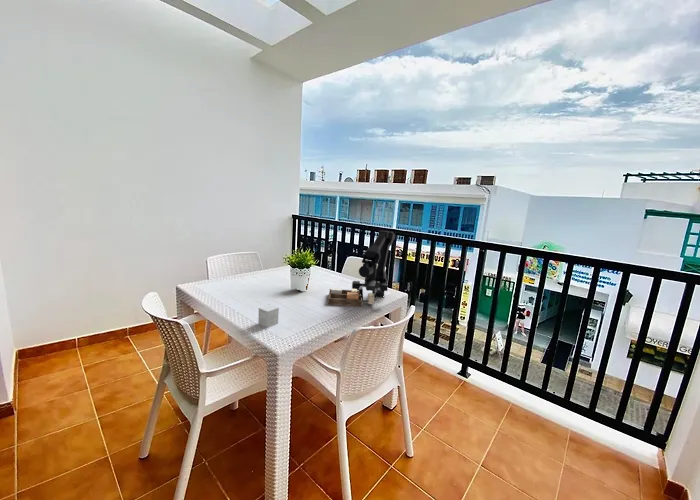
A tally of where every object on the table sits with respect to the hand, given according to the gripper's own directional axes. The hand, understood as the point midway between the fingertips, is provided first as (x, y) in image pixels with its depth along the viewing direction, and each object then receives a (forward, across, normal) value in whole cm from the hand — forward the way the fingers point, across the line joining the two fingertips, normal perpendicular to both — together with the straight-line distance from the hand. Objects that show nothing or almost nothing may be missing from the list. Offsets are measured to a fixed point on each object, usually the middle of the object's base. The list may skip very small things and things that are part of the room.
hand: (368, 301), depth 150 cm
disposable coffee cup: (+2, -39, +16) cm, 42 cm away
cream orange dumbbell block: (+1, -4, 0) cm, 4 cm away
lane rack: (+2, -13, +4) cm, 13 cm away
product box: (+2, -45, -31) cm, 55 cm away
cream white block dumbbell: (+1, -13, +7) cm, 15 cm away
